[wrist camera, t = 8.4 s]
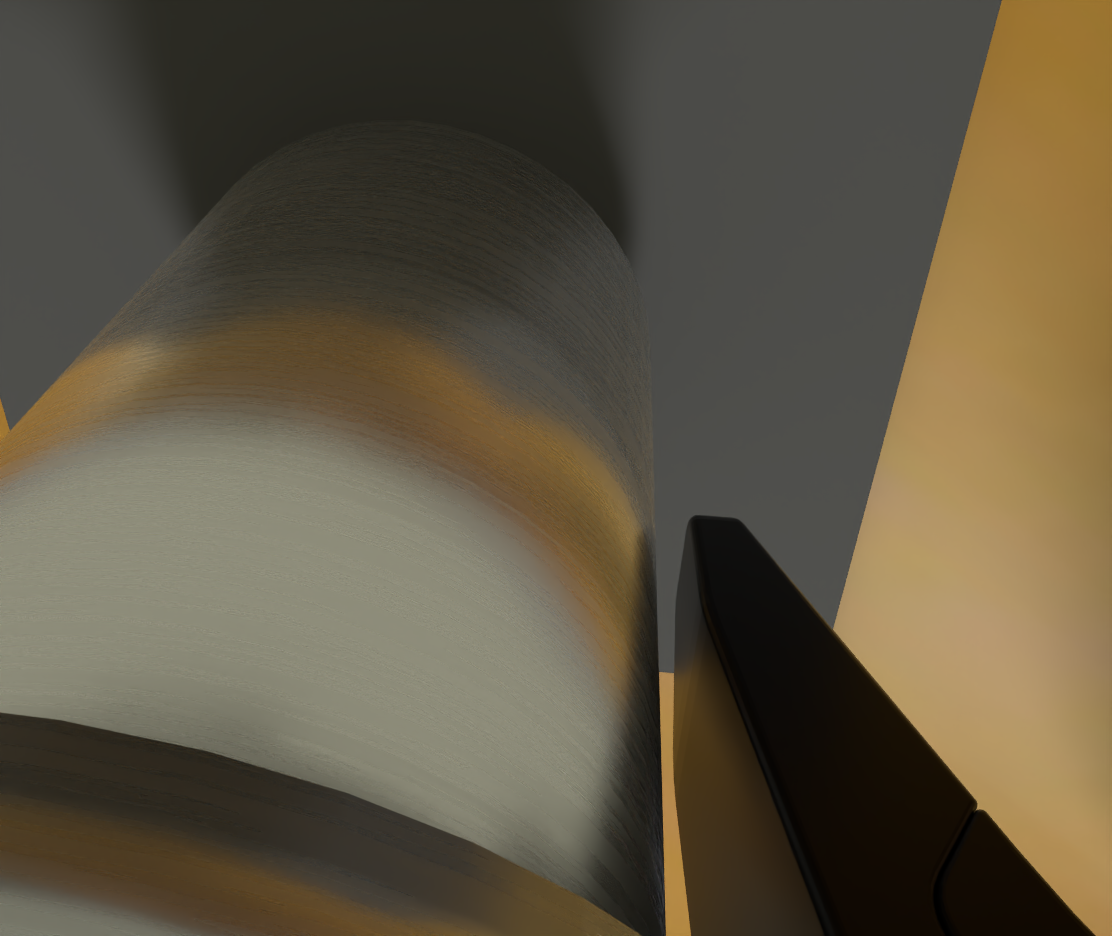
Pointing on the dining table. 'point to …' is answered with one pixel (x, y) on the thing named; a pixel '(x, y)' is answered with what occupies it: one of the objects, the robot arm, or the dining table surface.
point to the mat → (576, 158)
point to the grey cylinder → (343, 571)
